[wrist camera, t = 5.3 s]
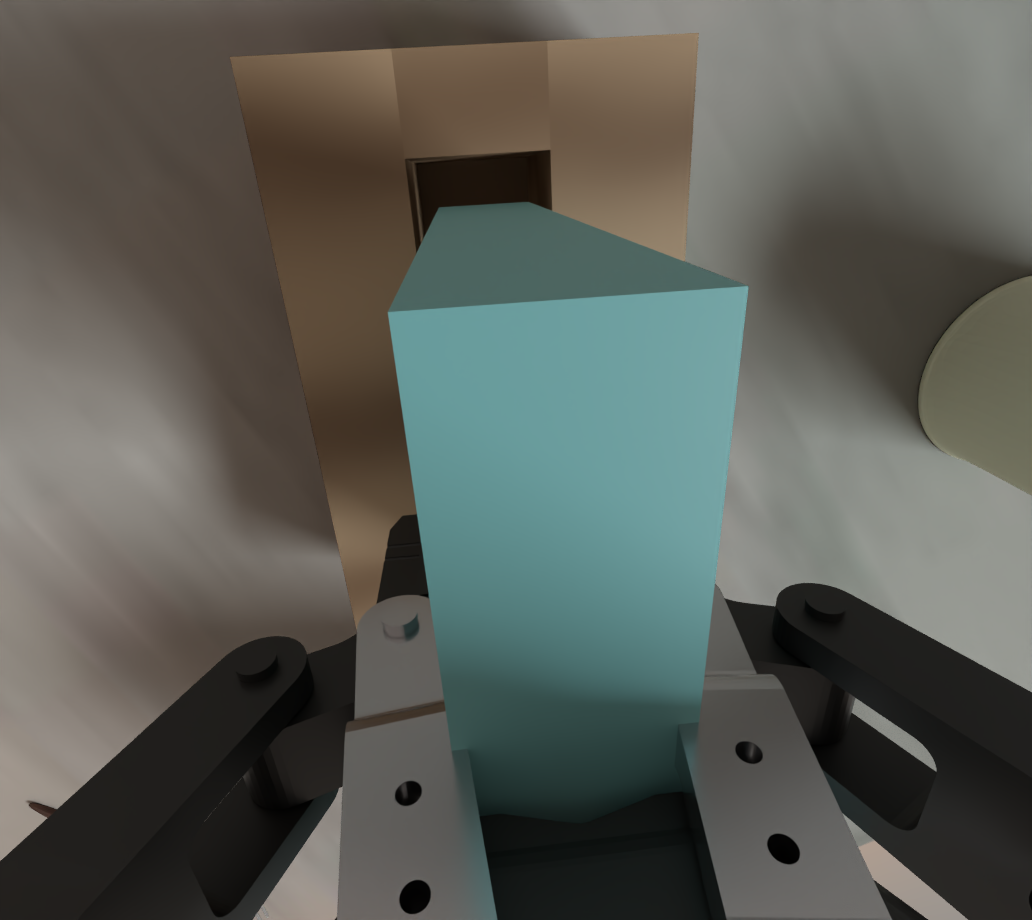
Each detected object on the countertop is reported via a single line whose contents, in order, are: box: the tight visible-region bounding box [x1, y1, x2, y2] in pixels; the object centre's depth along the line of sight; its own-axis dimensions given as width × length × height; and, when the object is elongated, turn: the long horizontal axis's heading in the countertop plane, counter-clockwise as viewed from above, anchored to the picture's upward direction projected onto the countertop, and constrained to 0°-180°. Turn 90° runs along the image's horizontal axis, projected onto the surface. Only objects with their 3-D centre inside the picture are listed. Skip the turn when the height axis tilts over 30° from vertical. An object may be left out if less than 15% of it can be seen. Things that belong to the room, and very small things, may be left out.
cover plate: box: [388, 202, 749, 824], centre depth 13 cm, size 12×2×14 cm, turn 3°
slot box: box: [230, 33, 699, 630], centre depth 23 cm, size 20×12×7 cm, turn 3°
